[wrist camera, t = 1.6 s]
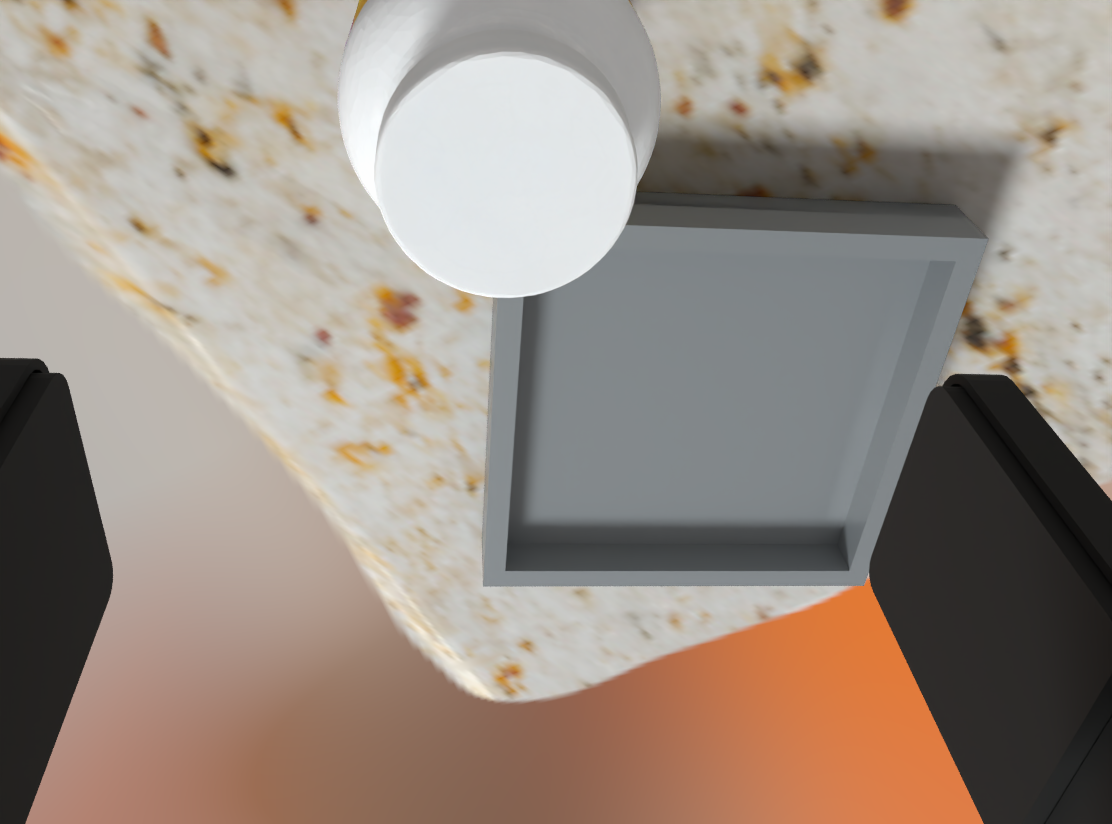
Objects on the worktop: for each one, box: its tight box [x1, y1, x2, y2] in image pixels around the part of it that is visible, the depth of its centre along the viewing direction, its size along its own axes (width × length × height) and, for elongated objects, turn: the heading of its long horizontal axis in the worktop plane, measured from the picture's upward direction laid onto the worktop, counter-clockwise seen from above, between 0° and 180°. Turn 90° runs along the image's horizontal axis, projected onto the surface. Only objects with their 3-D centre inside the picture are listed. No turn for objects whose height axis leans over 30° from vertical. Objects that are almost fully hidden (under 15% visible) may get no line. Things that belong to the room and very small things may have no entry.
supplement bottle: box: [338, 0, 661, 298], centre depth 23 cm, size 7×7×13 cm
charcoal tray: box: [482, 192, 988, 586], centre depth 35 cm, size 15×15×2 cm
